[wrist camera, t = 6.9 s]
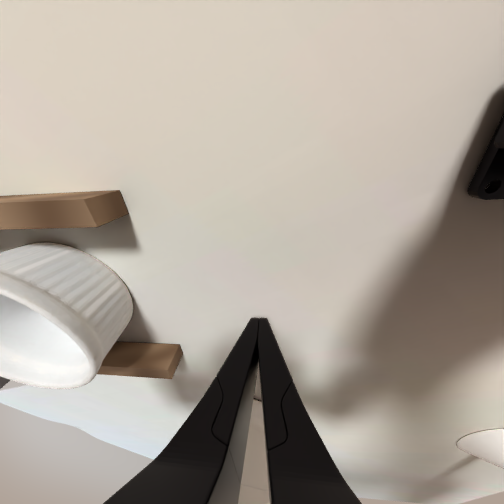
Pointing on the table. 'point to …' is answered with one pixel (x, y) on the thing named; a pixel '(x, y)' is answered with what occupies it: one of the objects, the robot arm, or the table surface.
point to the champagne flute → (485, 446)
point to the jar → (255, 462)
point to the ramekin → (58, 315)
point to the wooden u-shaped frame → (91, 215)
